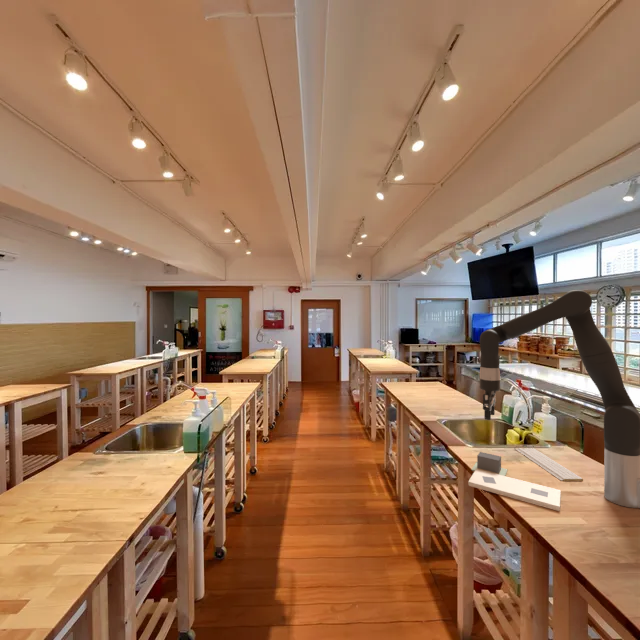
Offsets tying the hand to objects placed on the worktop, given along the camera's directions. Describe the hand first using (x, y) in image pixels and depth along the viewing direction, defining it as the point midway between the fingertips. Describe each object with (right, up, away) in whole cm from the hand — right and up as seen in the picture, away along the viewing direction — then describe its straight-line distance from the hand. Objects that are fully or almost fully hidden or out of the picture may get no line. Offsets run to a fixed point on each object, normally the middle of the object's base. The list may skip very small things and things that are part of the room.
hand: (489, 417), depth 138 cm
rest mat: (0, -22, 0) cm, 22 cm away
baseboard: (+27, -23, +6) cm, 36 cm away
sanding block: (0, -22, 0) cm, 22 cm away
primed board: (+1, -22, -15) cm, 27 cm away
